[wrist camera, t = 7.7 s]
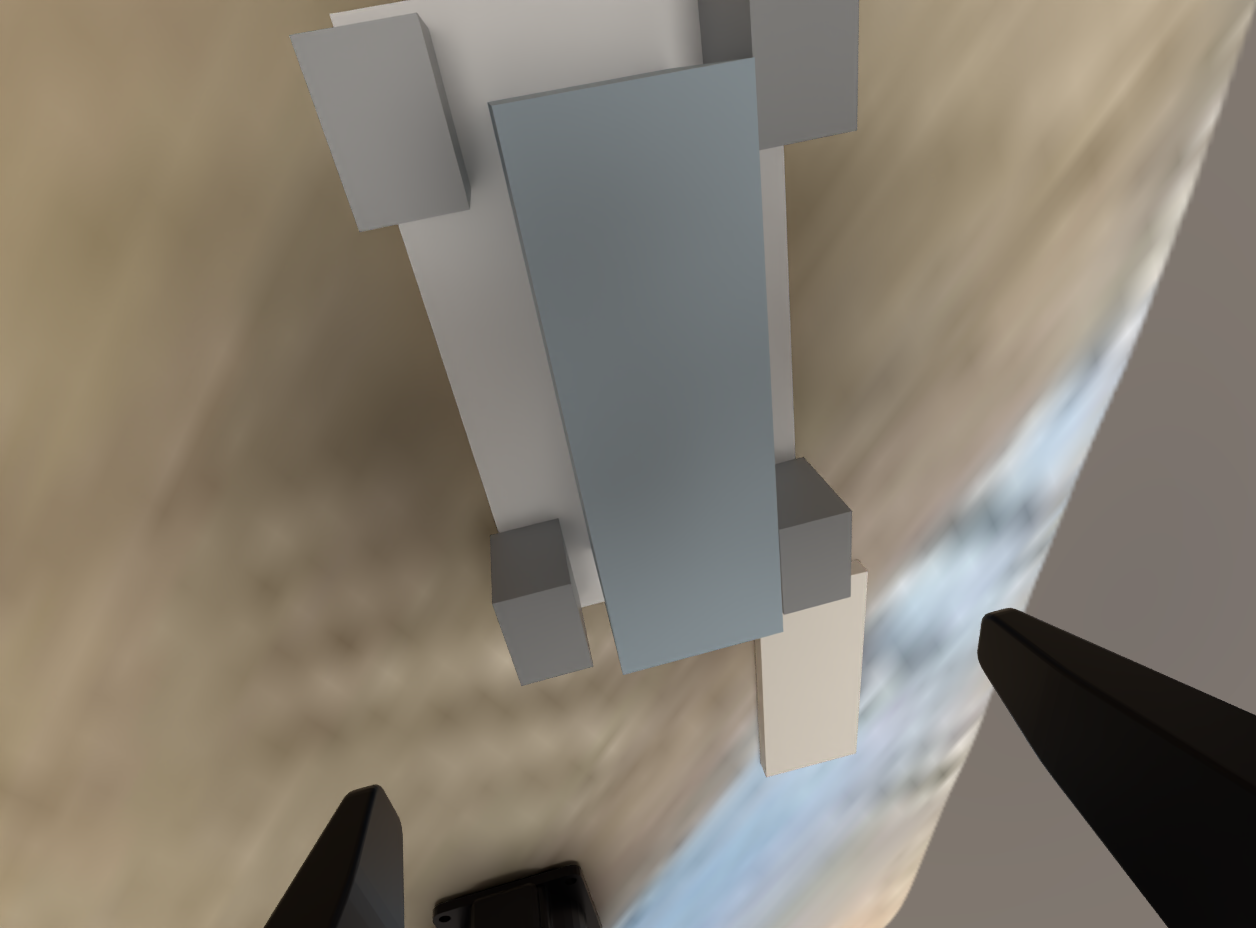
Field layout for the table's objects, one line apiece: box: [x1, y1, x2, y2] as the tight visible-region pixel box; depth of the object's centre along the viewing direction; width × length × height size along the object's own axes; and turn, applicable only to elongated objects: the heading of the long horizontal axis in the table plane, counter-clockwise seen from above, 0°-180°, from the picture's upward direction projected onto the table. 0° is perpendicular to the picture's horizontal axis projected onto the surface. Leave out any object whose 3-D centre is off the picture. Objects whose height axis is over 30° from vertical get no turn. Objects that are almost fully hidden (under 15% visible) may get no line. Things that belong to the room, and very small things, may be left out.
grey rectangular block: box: [487, 57, 783, 675], centre depth 15 cm, size 12×4×5 cm, turn 9°
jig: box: [289, 0, 859, 686], centre depth 16 cm, size 16×10×4 cm, turn 9°
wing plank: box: [755, 560, 868, 777], centre depth 26 cm, size 10×4×1 cm, turn 8°
